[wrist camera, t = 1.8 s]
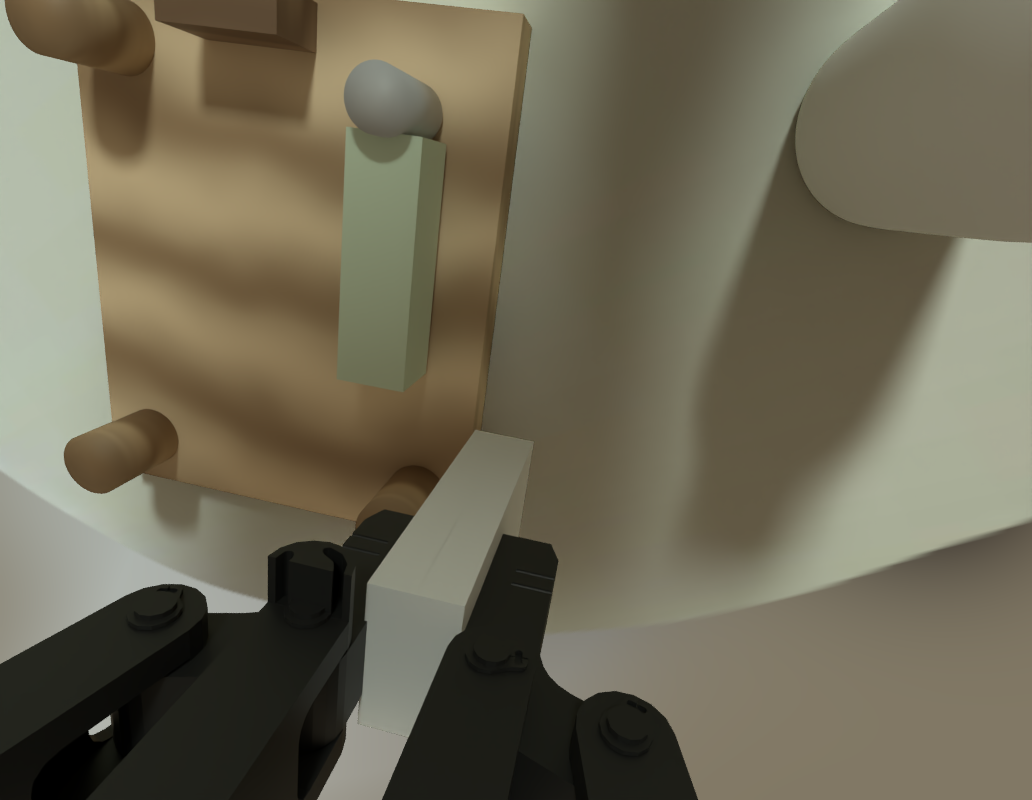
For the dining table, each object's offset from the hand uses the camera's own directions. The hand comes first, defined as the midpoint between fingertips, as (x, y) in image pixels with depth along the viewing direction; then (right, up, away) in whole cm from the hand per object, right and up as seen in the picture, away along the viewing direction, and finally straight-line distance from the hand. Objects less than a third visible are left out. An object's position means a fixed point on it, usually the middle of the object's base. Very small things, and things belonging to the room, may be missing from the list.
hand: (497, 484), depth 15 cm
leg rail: (-4, +9, +11) cm, 15 cm away
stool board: (-10, +8, +15) cm, 20 cm away
